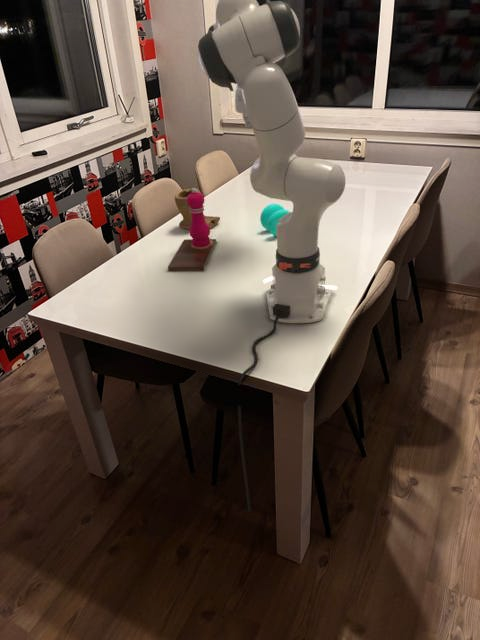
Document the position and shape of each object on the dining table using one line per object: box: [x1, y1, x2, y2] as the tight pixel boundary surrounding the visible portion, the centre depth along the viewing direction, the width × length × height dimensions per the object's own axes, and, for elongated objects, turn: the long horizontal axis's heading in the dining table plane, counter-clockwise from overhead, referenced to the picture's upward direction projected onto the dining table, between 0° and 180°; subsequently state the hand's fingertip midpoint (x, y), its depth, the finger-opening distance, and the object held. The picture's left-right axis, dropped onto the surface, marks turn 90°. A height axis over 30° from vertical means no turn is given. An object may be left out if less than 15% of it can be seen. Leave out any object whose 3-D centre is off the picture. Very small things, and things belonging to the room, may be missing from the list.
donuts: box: [259, 203, 291, 237], centre depth 178 cm, size 10×10×10 cm
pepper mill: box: [187, 187, 211, 247], centre depth 168 cm, size 7×7×20 cm
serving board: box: [167, 238, 218, 272], centre depth 169 cm, size 22×12×2 cm, turn 171°
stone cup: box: [174, 187, 221, 229], centre depth 188 cm, size 15×12×15 cm
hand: (256, 130), depth 159 cm, fingers open, 8 cm apart
